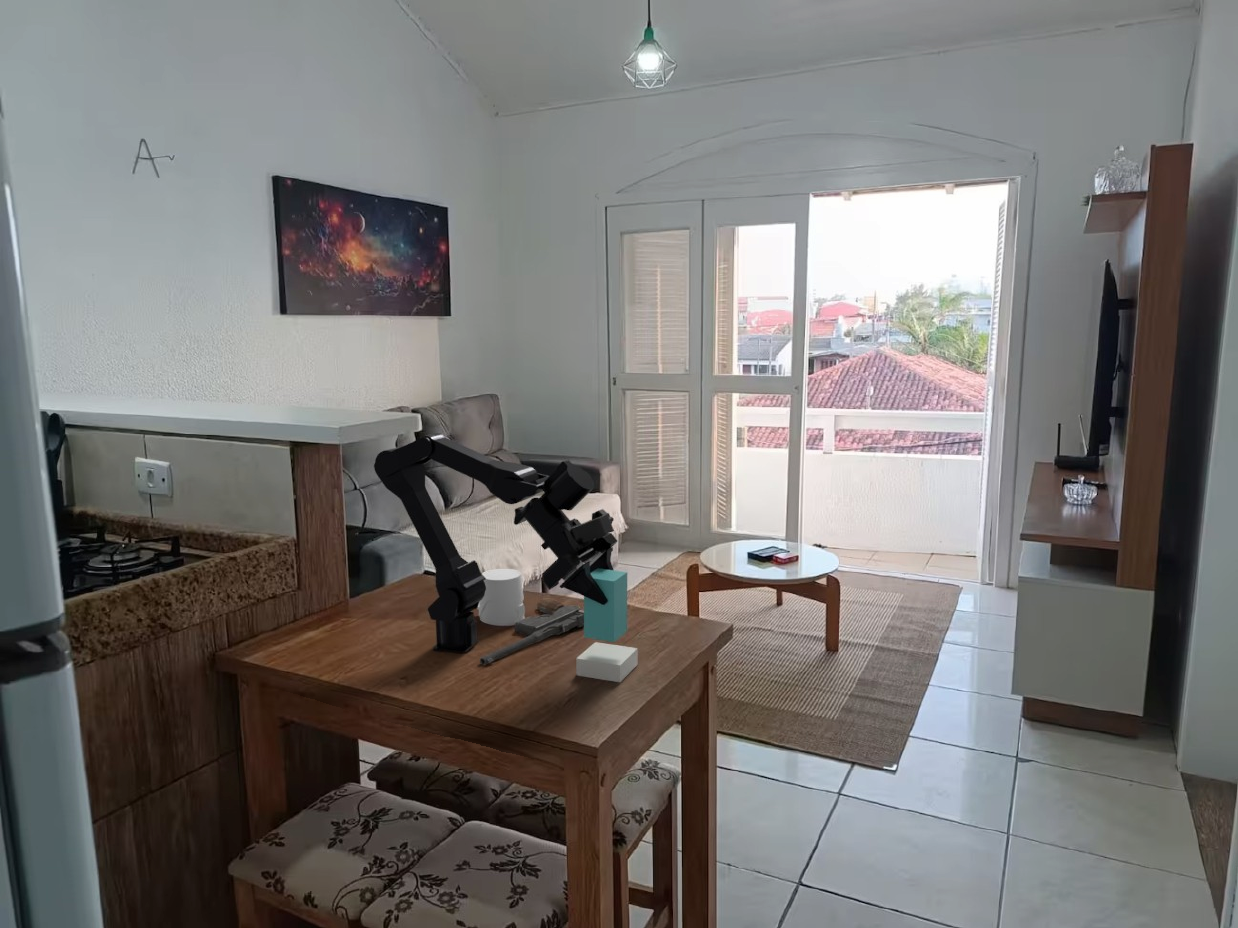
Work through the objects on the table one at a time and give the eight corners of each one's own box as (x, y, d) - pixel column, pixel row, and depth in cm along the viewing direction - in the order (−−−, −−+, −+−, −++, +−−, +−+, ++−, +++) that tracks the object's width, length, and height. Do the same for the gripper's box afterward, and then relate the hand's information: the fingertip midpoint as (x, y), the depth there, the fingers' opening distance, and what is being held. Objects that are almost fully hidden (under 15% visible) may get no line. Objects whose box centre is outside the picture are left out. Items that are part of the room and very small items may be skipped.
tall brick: (584, 637, 147) (583, 577, 145) (597, 626, 152) (597, 568, 150) (613, 642, 145) (614, 581, 143) (627, 631, 150) (627, 572, 148)
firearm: (548, 609, 184) (602, 620, 175) (435, 656, 161) (490, 673, 152) (546, 594, 184) (601, 605, 174) (433, 639, 161) (489, 655, 151)
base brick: (576, 675, 148) (576, 658, 147) (595, 658, 155) (595, 642, 155) (620, 682, 145) (620, 665, 144) (637, 664, 152) (637, 648, 152)
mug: (532, 571, 175) (509, 582, 168) (533, 616, 177) (510, 629, 170) (483, 564, 181) (459, 574, 174) (484, 607, 182) (461, 619, 175)
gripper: (558, 508, 137) (622, 585, 135) (607, 487, 154) (665, 554, 152) (515, 551, 142) (576, 626, 139) (567, 526, 159) (623, 592, 156)
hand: (613, 597), depth 147 cm, fingers closed on tall brick, 5 cm apart
